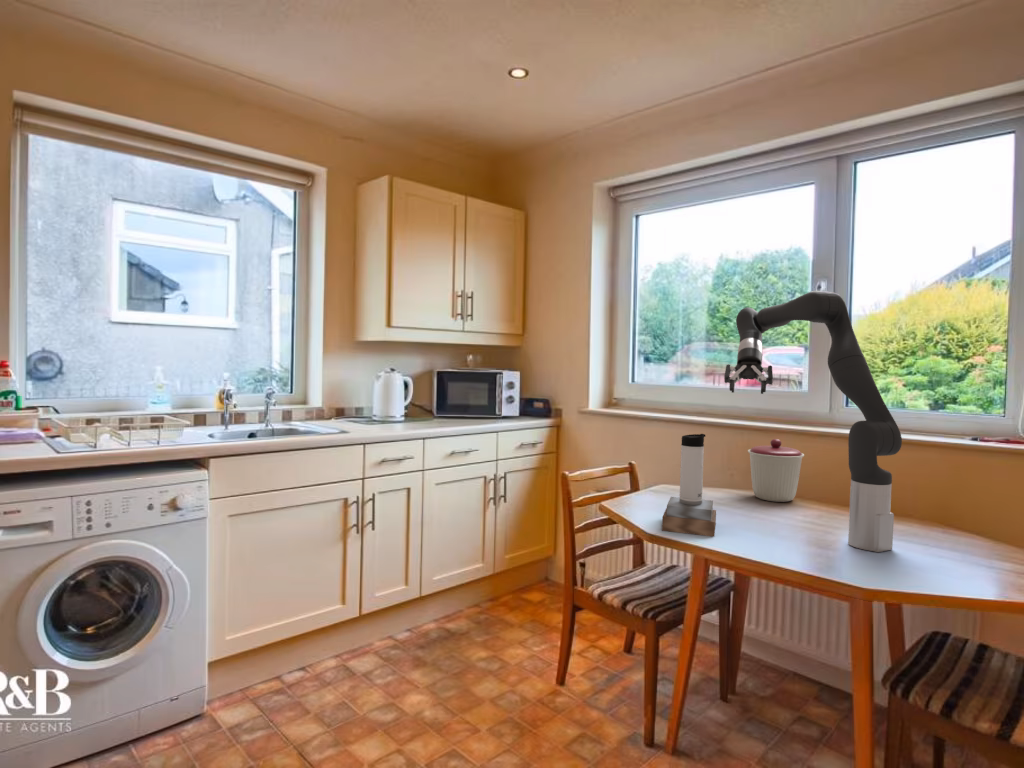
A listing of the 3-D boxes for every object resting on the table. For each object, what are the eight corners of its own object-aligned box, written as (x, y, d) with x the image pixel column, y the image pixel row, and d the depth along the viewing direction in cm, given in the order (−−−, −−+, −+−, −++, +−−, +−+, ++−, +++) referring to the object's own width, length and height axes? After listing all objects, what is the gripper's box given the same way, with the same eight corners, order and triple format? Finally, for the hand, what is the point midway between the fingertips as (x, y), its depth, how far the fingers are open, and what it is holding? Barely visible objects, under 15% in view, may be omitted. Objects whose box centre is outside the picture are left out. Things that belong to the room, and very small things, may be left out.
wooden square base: (715, 523, 180) (716, 500, 180) (714, 536, 167) (715, 511, 166) (667, 518, 185) (667, 495, 184) (662, 530, 171) (662, 506, 171)
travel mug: (705, 505, 172) (708, 435, 171) (682, 505, 172) (684, 435, 171) (699, 500, 179) (701, 432, 178) (677, 500, 179) (679, 432, 178)
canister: (752, 490, 226) (754, 434, 225) (806, 497, 215) (808, 438, 214) (740, 499, 211) (742, 439, 210) (797, 508, 201) (799, 444, 199)
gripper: (726, 346, 199) (722, 382, 189) (773, 346, 194) (772, 384, 184) (727, 362, 205) (723, 398, 195) (773, 363, 199) (771, 400, 189)
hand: (747, 391), depth 189 cm, fingers open, 8 cm apart
